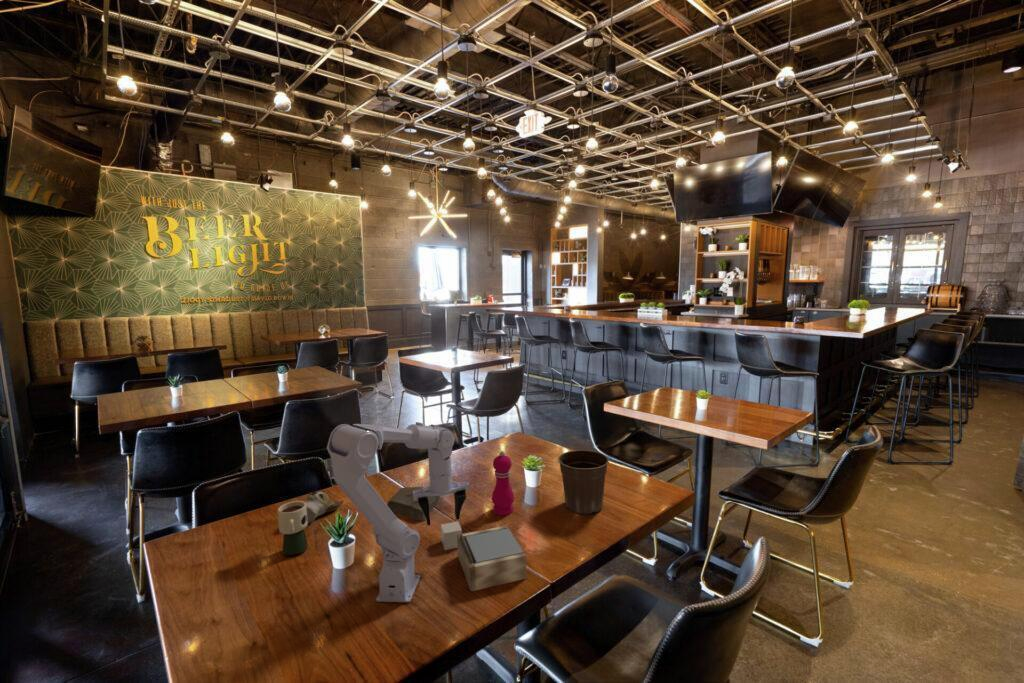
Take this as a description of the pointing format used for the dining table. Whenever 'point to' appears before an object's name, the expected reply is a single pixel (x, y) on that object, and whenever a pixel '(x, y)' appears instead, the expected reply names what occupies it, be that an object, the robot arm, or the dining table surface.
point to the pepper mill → (502, 486)
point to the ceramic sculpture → (319, 505)
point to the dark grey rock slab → (410, 504)
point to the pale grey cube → (450, 534)
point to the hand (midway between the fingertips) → (443, 520)
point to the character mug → (293, 527)
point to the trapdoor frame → (489, 565)
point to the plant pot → (583, 480)
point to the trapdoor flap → (493, 545)
